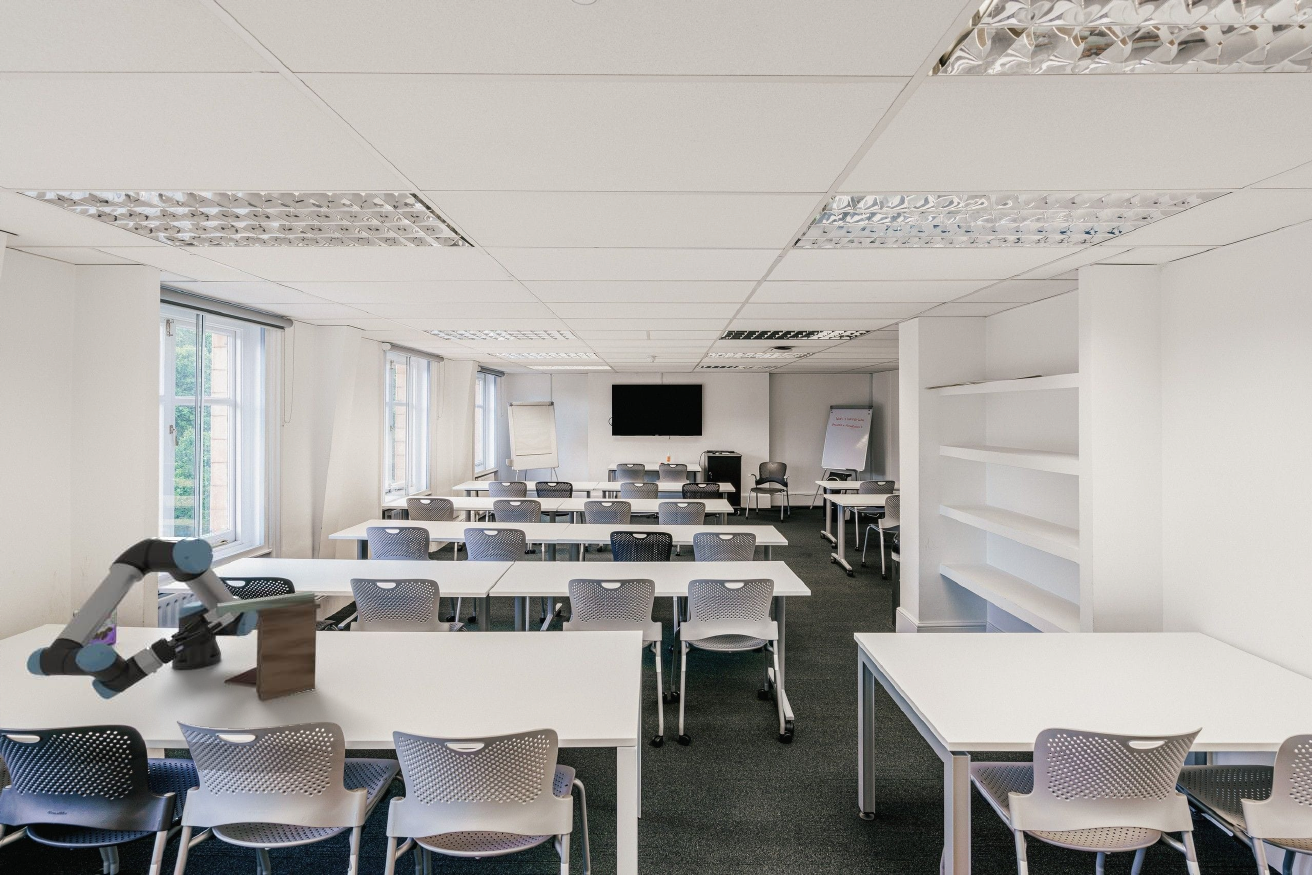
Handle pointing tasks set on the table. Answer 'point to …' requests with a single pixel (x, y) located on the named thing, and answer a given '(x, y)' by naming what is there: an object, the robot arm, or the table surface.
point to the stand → (286, 650)
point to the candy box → (106, 630)
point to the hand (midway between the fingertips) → (229, 610)
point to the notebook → (244, 678)
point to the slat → (264, 603)
